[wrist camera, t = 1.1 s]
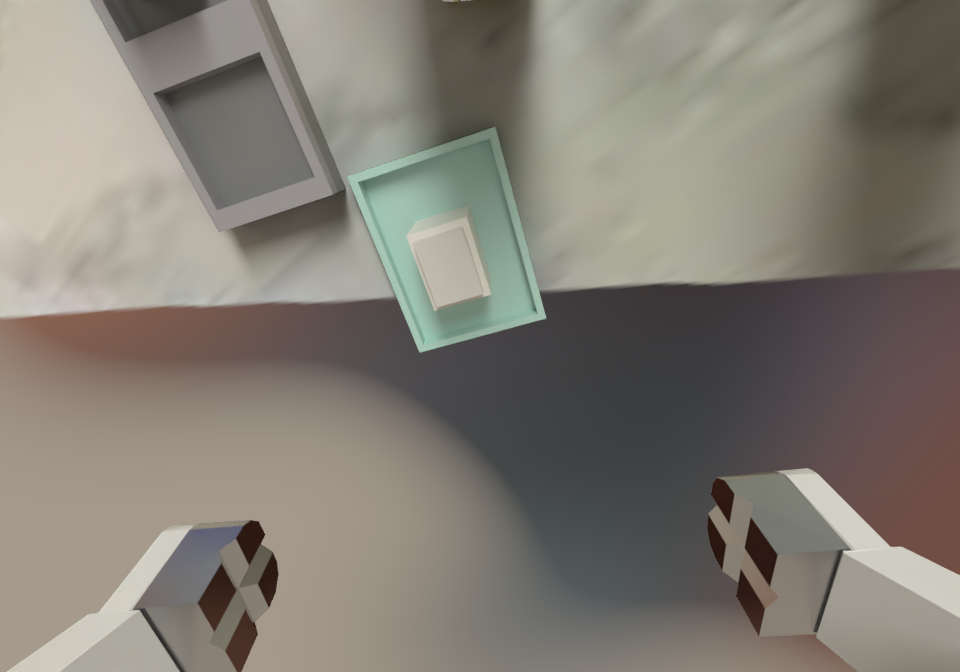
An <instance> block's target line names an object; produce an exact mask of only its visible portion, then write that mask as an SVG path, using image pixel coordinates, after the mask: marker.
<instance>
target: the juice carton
mask: <svg viewBox="0 0 960 672" xmlns="http://www.w3.org/2000/svg"><path fill="white" fill-rule="evenodd" d="M442 1H444V2H456V1H472V0H442Z"/></svg>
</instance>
